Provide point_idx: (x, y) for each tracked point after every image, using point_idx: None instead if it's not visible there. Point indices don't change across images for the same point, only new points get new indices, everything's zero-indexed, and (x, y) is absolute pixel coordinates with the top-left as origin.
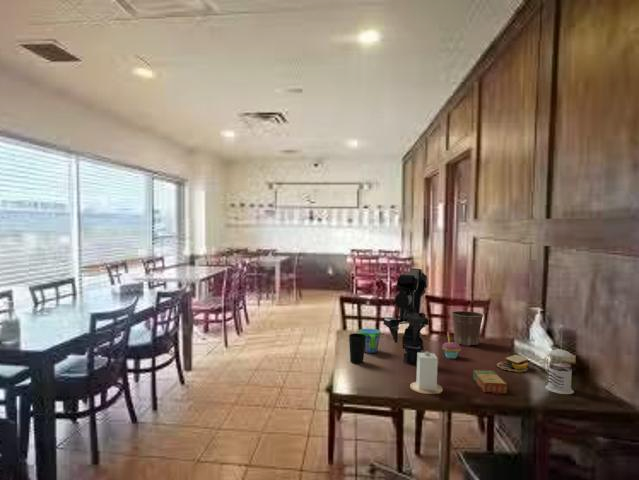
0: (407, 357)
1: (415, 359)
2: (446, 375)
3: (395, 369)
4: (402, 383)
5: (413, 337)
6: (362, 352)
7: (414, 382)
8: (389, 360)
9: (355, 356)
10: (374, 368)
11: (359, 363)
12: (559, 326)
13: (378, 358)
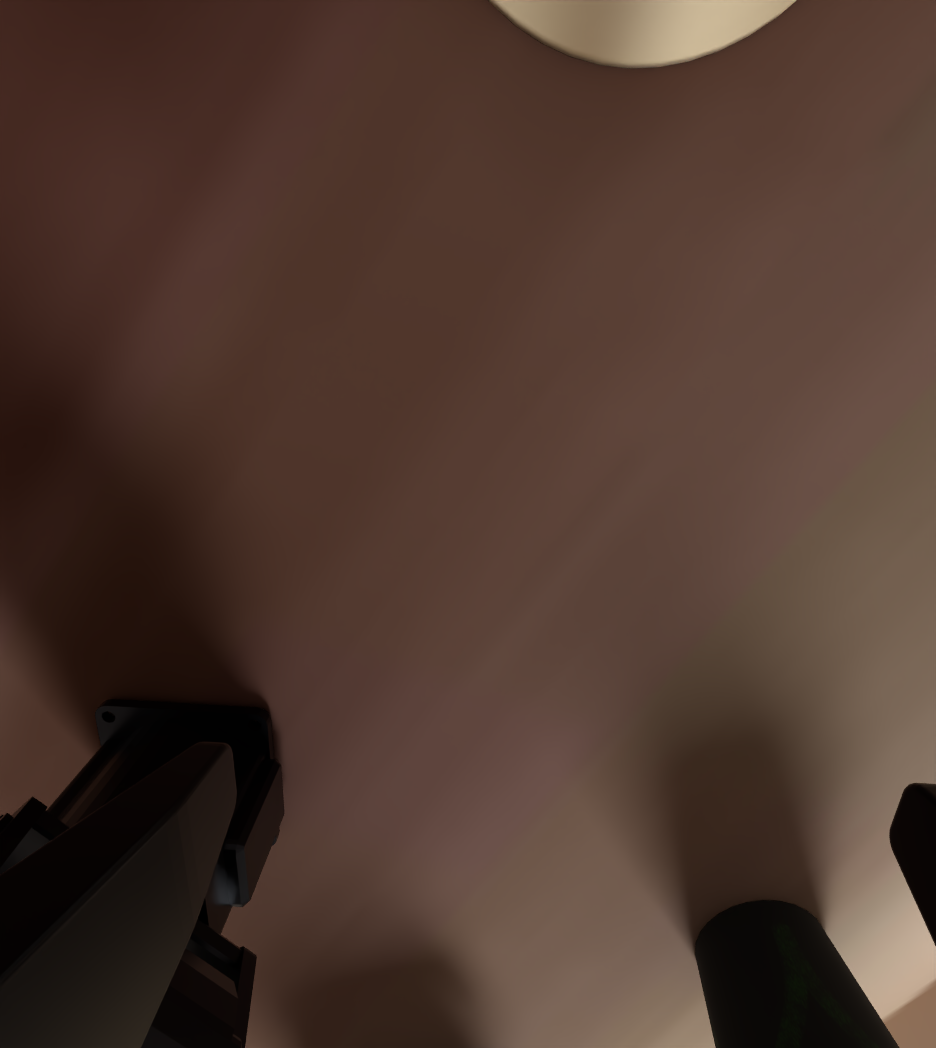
0: (259, 803)
1: (171, 749)
2: (12, 217)
3: (531, 645)
4: (827, 145)
5: (196, 912)
6: (805, 1025)
7: (697, 37)
8: (404, 889)
9: (861, 992)
10: (732, 746)
11: (777, 904)
12: None
13: (476, 963)
